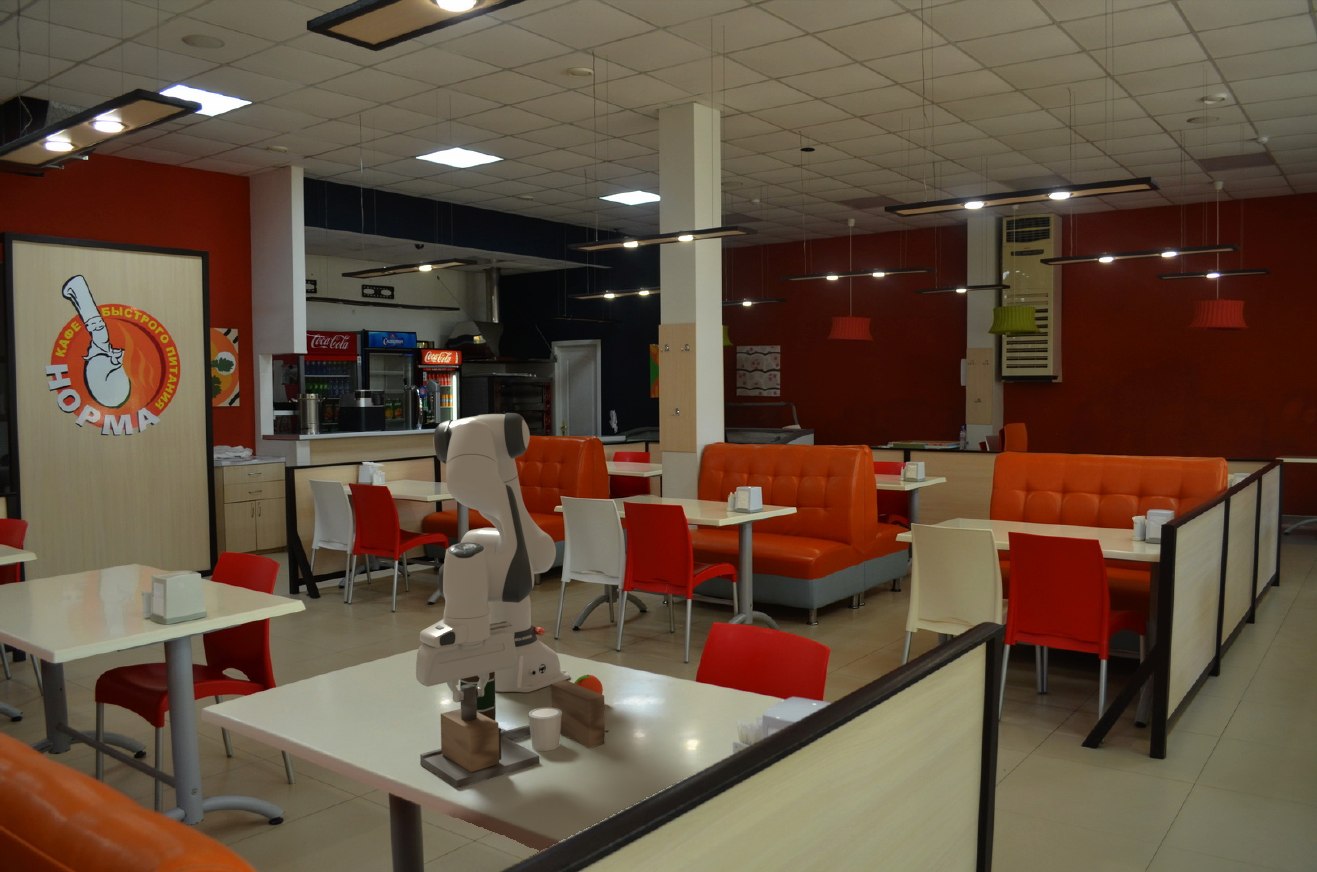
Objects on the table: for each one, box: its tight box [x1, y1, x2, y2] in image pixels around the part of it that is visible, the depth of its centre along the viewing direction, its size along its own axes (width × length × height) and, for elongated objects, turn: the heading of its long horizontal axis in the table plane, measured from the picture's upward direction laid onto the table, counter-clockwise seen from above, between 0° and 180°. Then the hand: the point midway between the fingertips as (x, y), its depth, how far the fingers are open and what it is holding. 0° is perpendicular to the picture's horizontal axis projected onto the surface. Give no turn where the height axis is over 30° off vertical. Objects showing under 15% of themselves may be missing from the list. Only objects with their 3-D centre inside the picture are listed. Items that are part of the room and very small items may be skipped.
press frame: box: [419, 679, 606, 789], centre depth 191 cm, size 34×15×10 cm, turn 130°
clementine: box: [573, 674, 604, 695], centre depth 220 cm, size 8×7×7 cm
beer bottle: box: [459, 672, 497, 721], centre depth 206 cm, size 8×8×24 cm
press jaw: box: [440, 684, 502, 772], centre depth 184 cm, size 7×12×14 cm, turn 40°
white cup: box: [528, 706, 562, 752], centre depth 195 cm, size 7×7×7 cm
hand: (468, 698), depth 183 cm, fingers closed on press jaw, 3 cm apart
